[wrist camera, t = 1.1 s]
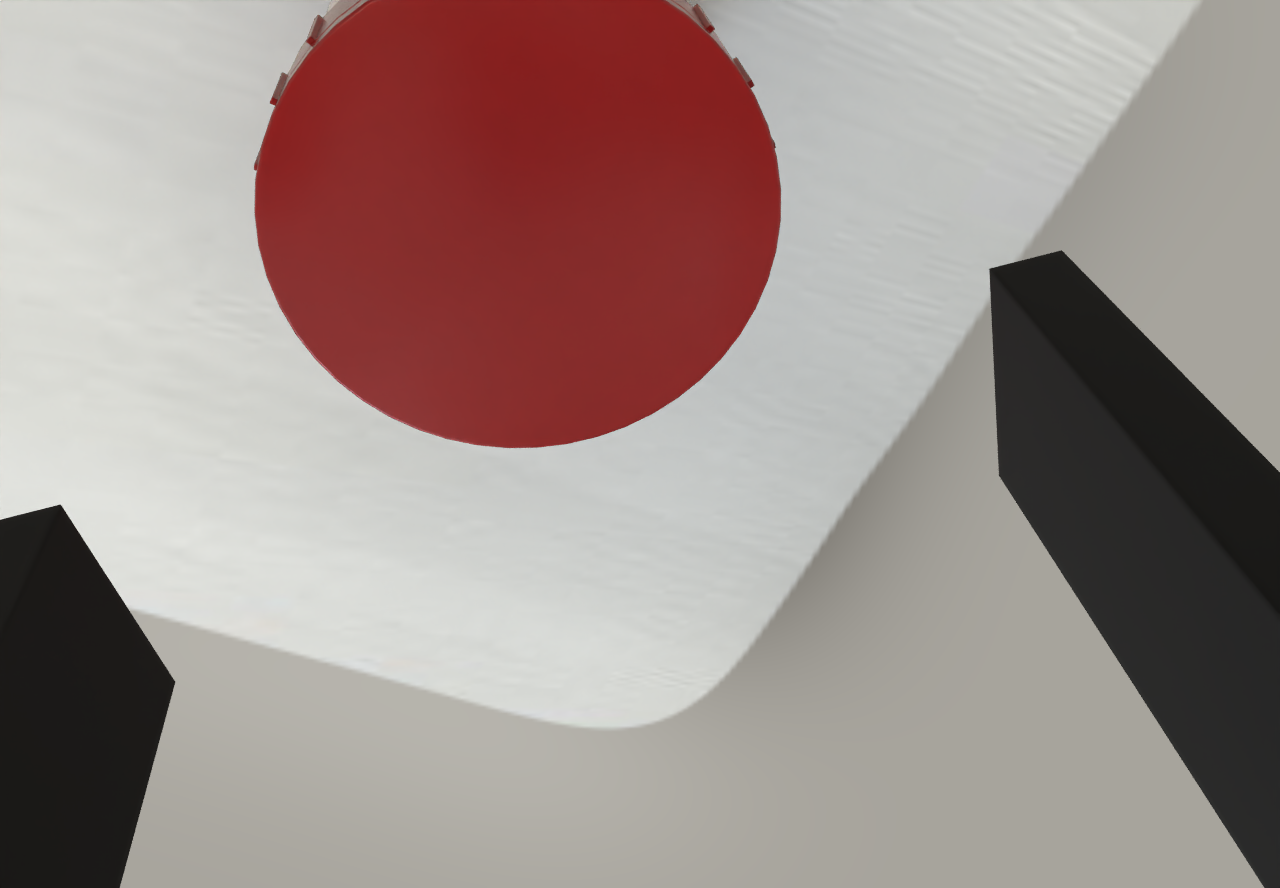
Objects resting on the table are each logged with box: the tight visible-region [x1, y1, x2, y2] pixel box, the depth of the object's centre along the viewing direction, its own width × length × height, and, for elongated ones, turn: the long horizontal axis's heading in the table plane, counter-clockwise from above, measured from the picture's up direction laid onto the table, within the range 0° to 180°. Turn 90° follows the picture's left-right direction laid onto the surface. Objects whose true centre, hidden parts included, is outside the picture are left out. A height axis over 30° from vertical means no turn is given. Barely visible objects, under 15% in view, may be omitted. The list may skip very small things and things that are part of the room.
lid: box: [254, 0, 781, 448], centre depth 19 cm, size 8×8×2 cm
